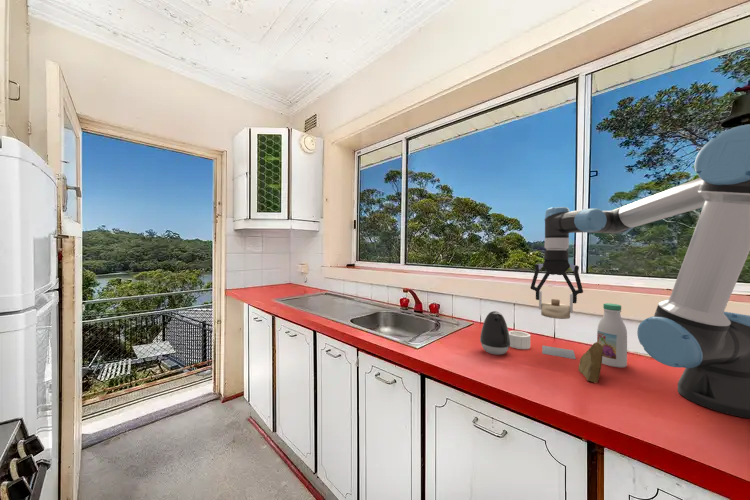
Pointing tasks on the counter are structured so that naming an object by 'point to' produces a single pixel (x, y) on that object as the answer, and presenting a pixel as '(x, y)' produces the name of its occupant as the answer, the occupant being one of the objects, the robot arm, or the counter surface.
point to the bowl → (519, 339)
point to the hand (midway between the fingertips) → (555, 310)
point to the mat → (558, 352)
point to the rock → (592, 362)
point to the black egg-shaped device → (495, 334)
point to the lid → (555, 310)
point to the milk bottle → (613, 336)
